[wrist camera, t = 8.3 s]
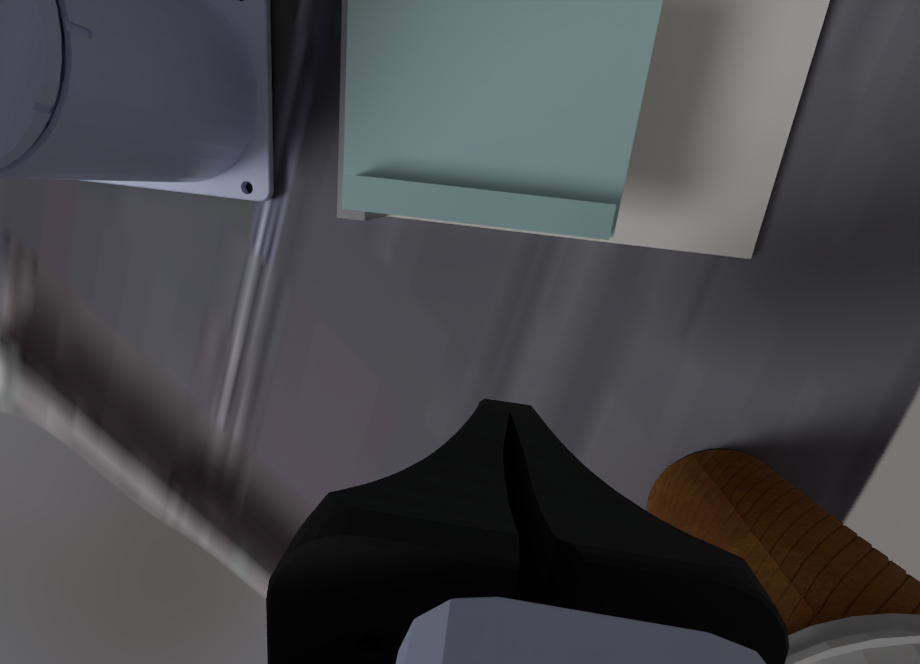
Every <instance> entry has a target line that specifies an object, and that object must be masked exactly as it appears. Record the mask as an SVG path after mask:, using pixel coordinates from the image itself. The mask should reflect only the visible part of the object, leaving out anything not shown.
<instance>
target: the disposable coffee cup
mask: <svg viewBox="0 0 920 664" xmlns="http://www.w3.org/2000/svg"><path fill="white" fill-rule="evenodd" d="M817 505H818V504H817V503H816V502H814V501H813V500H811V499H810V498H809V497H806V495H805V494H804V493H802V492H801V491H800V490H798V489H796V488H795V486H793V485H792V484H790V483H789V482H788V481H785V479H784V478H783V477H781V476H780V475H779V474H777V473H776V472H775V471H774V470H772V469H771V468H770V467H768V466H767V465H766V464H765V463H764V462H762V461H760V460H759V459H757V458H756V457H754V456H751V455H748V454H745V453H742V452H739V451H733V450H726V449H716V450H709V451H702V452H698V453H695V454H691V455H689V456H687V457H685V458H683V459H681V460H679V461H677V462H675V463H674V464H673V465H671V466H670V467H669V468H667V469H666V470H665V471H664V472H663V473H662V474H661V476H660V477H659V478H658V479H657V481H656V482H655V484H654V486H653V488H652V489H651V492H650V495H649V498H648V506H647V511H648V512H649V513H651V514H653V515H654V516H656V517H658V518H659V519H661V520H663V521H665V522H667V523H669V524H671V525H673V526H674V527H676V528H678V529H680V530H682V531H684V532H686V533H688V534H690V535H692V536H694V537H696V538H699V539H701V540H703V541H705V542H708V543H710V544H712V545H714V546H717V547H719V548H721V549H723V550H726V551H728V552H730V553H732V554H735V555H737V556H739V557H741V558H744V560H745V561H746V562H747V564H748V565H749V567H750V568H751V569H752V571H753V572H754V574H755V575H756V577H757V578H758V580H759V581H760V583H761V585H762V586H763V588H764V589H765V591H766V592H767V594H768V595H769V597H770V598H771V600H772V601H773V603H774V604H775V606H776V607H777V609H778V611H779V613H780V615H781V617H782V619H783V620H784V622H785V624H786V626H787V630H788V639H789V651H788V655H787V658H786V662H785V664H920V582H919V581H918V580H916V579H915V578H914V577H912V576H911V575H907V574H906V571H905V570H904V569H902V568H901V567H900V566H898V565H896V564H895V563H894V562H892V561H889V560H888V557H887V556H885V555H884V554H882V553H881V552H880V551H878V550H877V549H875V548H872V546H871V544H870V543H868V542H867V541H865V540H864V539H862V538H861V537H859V536H858V537H857V534H856V533H855V532H854V531H852V530H851V529H849V528H848V527H847V526H845V525H844V526H843V523H842V522H841V521H839V520H838V519H836V518H835V517H833V516H832V515H829V512H828V511H826V510H825V509H823V508H822V507H820V506H817Z"/></svg>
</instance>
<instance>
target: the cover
mask: <svg viewBox="0 0 920 664" xmlns="http://www.w3.org/2000/svg"><path fill="white" fill-rule="evenodd" d="M662 2H663V0H348V14H347V52H346V90H345V129H344V167H343V187H342V209H348V210H357V211H366V212H374V213H383V214H391V215H400V216H408V217H417V218H425V219H434V220H442V221H451V222H459V223H468V224H476V225H485V226H493V227H502V228H510V229H519V230H527V231H536V232H544V233H553V234H561V235H570V236H579V237H587V238H596V239H604V240H609V238H610V237H612V238H613V237H614V232H615V227H616V223H617V218H618V213H619V208H620V203H621V199H622V194H623V189H624V184H625V179H626V175H627V170H628V165H629V160H630V156H631V151H632V146H633V141H634V136H635V132H636V127H637V122H638V117H639V112H640V108H641V103H642V98H643V93H644V89H645V84H646V79H647V74H648V69H649V65H650V60H651V55H652V50H653V45H654V41H655V36H656V31H657V26H658V22H659V17H660V12H661V7H662Z"/></svg>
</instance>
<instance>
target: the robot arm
mask: <svg viewBox="0 0 920 664" xmlns="http://www.w3.org/2000/svg"><path fill="white" fill-rule="evenodd" d="M0 178H32V179H68V180H82V181H91V182H99V183H108V184H116V185H125V186H133V187H142V188H150V189H159V190H167V191H176V192H184V193H193V194H201V195H210V196H218V197H227V198H235V199H244V200H252V201H268V200H269V199H271V197H272V196H273V192H274V176H273V123H272V69H271V16H270V0H244V1H240V0H0ZM248 182H250V183H251V184H252V186H253V191H252V193H251V194H250V193H249V192H248V191H247V189H246V184H247V183H248ZM266 607H267V651H268V664H785V662H786V658H787V655H788V651H789V639H788V630H787V626H786V624H785V622H784V620H783V619H782V617H781V615H780V613H779V611H778V609H777V607H776V606H775V604H774V603H773V601H772V600H771V598H770V597H769V595H768V594H767V592H766V591H765V589H764V588H763V586H762V585H761V583H760V581H759V580H758V578H757V577H756V575H755V574H754V572H753V571H752V569H751V568H750V567H749V565H748V564H747V562H746V561H745V560H744V558H741V557H739V556H737V555H735V554H732V553H730V552H728V551H726V550H723V549H721V548H719V547H717V546H714V545H712V544H710V543H708V542H705V541H703V540H701V539H699V538H696V537H694V536H692V535H690V534H688V533H686V532H684V531H682V530H680V529H678V528H676V527H674V526H673V525H671V524H669V523H667V522H665V521H663V520H661V519H659V518H658V517H656V516H654V515H653V514H651V513H649V512H647V511H646V510H644V509H642V508H641V507H639V506H638V505H636V504H635V503H633V502H632V501H630V500H629V499H627V498H626V497H624V496H623V495H621V494H620V493H618V492H617V491H615V490H614V489H613V488H611V487H610V486H609V485H607V484H606V483H605V482H604V481H602V480H601V479H600V478H599V477H597V476H596V475H595V474H594V473H592V472H591V471H590V470H589V469H588V468H587V467H586V466H584V465H583V464H582V463H581V462H580V461H579V460H578V459H577V458H576V457H575V456H574V455H573V454H572V453H571V452H570V451H569V450H568V449H567V448H566V447H565V446H564V445H563V444H562V443H561V441H560V440H559V439H558V438H557V437H556V436H555V435H554V433H553V432H552V431H551V430H550V429H549V428H548V426H547V425H546V424H545V423H544V421H543V420H542V419H541V418H540V416H539V415H538V414H537V412H536V411H535V410H534V409H533V407H532V406H531V405H524V404H517V403H510V402H503V401H497V400H490V399H483V400H482V401H480V402H479V405H478V407H477V409H476V410H475V412H474V413H473V414H472V416H471V417H470V418H469V420H468V421H467V422H466V423H465V424H464V425H463V426H462V428H461V429H460V430H459V431H458V432H457V433H456V434H455V435H453V436H452V437H451V438H450V439H449V440H448V441H447V442H446V443H445V444H444V445H442V446H441V447H440V448H439V449H437V450H436V451H435V452H433V453H432V454H431V455H429V456H428V457H426V458H425V459H423V460H421V461H419V462H418V463H416V464H414V465H412V466H410V467H408V468H406V469H404V470H402V471H400V472H398V473H395V474H393V475H390V476H388V477H385V478H382V479H379V480H377V481H374V482H370V483H367V484H364V485H359V486H355V487H351V488H347V489H343V490H339V491H334V492H329V493H328V494H327V495H326V496H325V498H324V499H323V500H322V501H321V502H320V504H319V505H318V506H317V507H316V509H315V510H314V511H313V512H312V513H311V514H310V516H309V517H308V518H307V519H306V521H305V522H304V523H303V525H302V526H301V527H300V529H299V530H298V532H297V533H296V535H295V536H294V538H293V539H292V541H291V543H290V544H289V546H288V548H287V550H286V551H285V553H284V555H283V556H282V558H281V560H280V561H279V563H278V565H277V567H276V569H275V571H274V572H273V574H272V576H271V578H270V580H269V585H268V591H267V598H266Z"/></svg>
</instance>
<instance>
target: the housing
mask: <svg viewBox="0 0 920 664" xmlns="http://www.w3.org/2000/svg"><path fill="white" fill-rule="evenodd" d="M829 2H830V0H663V2H662V7H661V12H660V17H659V22H658V26H657V31H656V36H655V41H654V45H653V50H652V55H651V60H650V65H649V69H648V74H647V79H646V84H645V89H644V93H643V98H642V103H641V108H640V112H639V117H638V122H637V127H636V132H635V136H634V141H633V146H632V151H631V156H630V160H629V165H628V170H627V175H626V179H625V184H624V189H623V194H622V199H621V203H620V208H619V213H618V218H617V223H616V227H615V232H614V237H613V238H612V237H610V238H609V240H604V239H596V238H587V237H579V236H570V235H561V234H553V233H544V232H536V231H527V230H519V229H510V228H502V227H493V226H485V225H476V224H468V223H459V222H451V221H442V220H434V219H425V218H417V217H408V216H400V215H391V214H383V213H374V212H366V211H357V210H348V209H342V187H343V167H344V129H345V90H346V52H347V14H348V0H342V24H341V67H340V111H339V155H338V199H337V218H346V219H354V220H363V221H365V220H370V219H375V218H380V217H384V216H389V217H397V218H406V219H414V220H423V221H431V222H440V223H448V224H457V225H465V226H474V227H482V228H491V229H499V230H508V231H516V232H525V233H533V234H542V235H550V236H559V237H567V238H576V239H584V240H593V241H601V242H610V243H618V244H627V245H635V246H644V247H652V248H661V249H669V250H678V251H686V252H695V253H703V254H712V255H720V256H729V257H737V258H746V259H751V257H752V254H753V251H754V247H755V244H756V241H757V237H758V234H759V231H760V228H761V224H762V221H763V218H764V215H765V211H766V208H767V205H768V201H769V198H770V195H771V192H772V188H773V185H774V182H775V179H776V175H777V172H778V169H779V166H780V162H781V159H782V156H783V152H784V149H785V146H786V143H787V139H788V136H789V133H790V130H791V126H792V123H793V120H794V116H795V113H796V110H797V107H798V103H799V100H800V97H801V94H802V90H803V87H804V84H805V80H806V77H807V74H808V71H809V67H810V64H811V61H812V58H813V54H814V51H815V48H816V45H817V41H818V38H819V35H820V31H821V28H822V25H823V22H824V18H825V15H826V12H827V9H828V5H829Z"/></svg>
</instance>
